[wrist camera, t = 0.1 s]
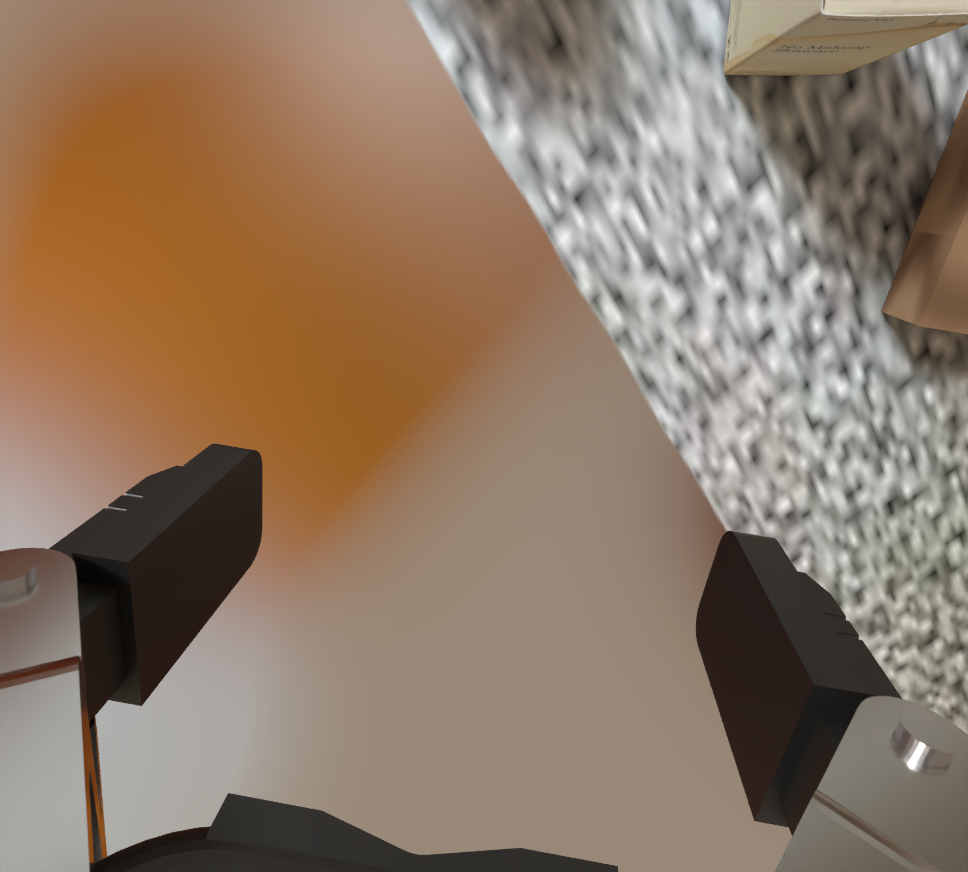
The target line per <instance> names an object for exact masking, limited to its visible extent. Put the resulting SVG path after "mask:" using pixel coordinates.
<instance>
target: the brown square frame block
mask: <svg viewBox="0 0 968 872" xmlns="http://www.w3.org/2000/svg"><path fill="white" fill-rule="evenodd" d="M881 312H883V313H886V314H888V315H891V316H894V317H896V318H899V319H901V320H904V321H907V322H909V323H912V324H914V325H917V326H921V327H927V328H933V329H939V330H945V331H951V332H957V333H963V334H968V91H967V93H966V96H965V98H964V101H963V104H962V106H961V109H960V111H959V114H958V116H957V119H956V121H955V124H954V127H953V129H952V132H951V134H950V137H949V139H948V142H947V145H946V147H945V150H944V152H943V155H942V157H941V160H940V162H939V165H938V168H937V170H936V173H935V175H934V178H933V180H932V183H931V186H930V188H929V191H928V193H927V196H926V198H925V201H924V204H923V206H922V209H921V211H920V214H919V216H918V219H917V221H916V224H915V227H914V229H913V232H912V234H911V237H910V239H909V242H908V245H907V247H906V250H905V252H904V255H903V257H902V260H901V262H900V265H899V268H898V270H897V273H896V275H895V278H894V280H893V283H892V286H891V288H890V291H889V293H888V296H887V298H886V301H885V303H884V306H883V309H882V311H881Z"/></svg>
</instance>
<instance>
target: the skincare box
mask: <svg viewBox="0 0 968 872" xmlns="http://www.w3.org/2000/svg"><path fill="white" fill-rule="evenodd" d="M967 24H968V0H732V1H731V9H730V16H729V24H728V32H727V40H726V50H725V60H724V74H726V75H838V74H843V73H845V72H848V71H851V70H853V69H856V68H859V67H861V66H864V65H866V64H869V63H872V62H874V61H877V60H879V59H882V58H884V57H887V56H889V55H892V54H894V53H897V52H899V51H902V50H904V49H907V48H909V47H912V46H914V45H917V44H919V43H922V42H924V41H927V40H929V39H932V38H934V37H937V36H940V35H942V34H945V33H947V32H949V31H952V30H954V29H957V28H959V27H962V26H964V25H967Z"/></svg>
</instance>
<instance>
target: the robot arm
mask: <svg viewBox="0 0 968 872" xmlns="http://www.w3.org/2000/svg"><path fill="white" fill-rule="evenodd" d="M261 536H262V459H261V455H260V453H259V452H258V451H256V450H250V449H244V448H238V447H232V446H226V445H220V444H211V445H210V446H208V447H207V448H206V449H204V450H203V451H202V452H200V453H199V454H198V455H197V456H195V457H194V458H193V459H191V460H190V461H189V462H188V463H186V464H185V465H184V466H174V467H172V468H169V469H166V470H164V471H161V472H158V473H156V474H153V475H150V476H148V477H146V478H145V479H144V480H142V481H141V482H139V483H138V484H137V485H135V486H134V487H132V488H131V489H130V490H128V491H127V492H126V495H125V496H123V495H122V496H120V497H119V498H117V499H116V500H115V501H113V502H112V503H111V504H109V507H108V509H105V508H104V509H102V510H101V511H100V512H98V513H97V514H96V515H94V516H93V517H92V518H90V519H89V520H87V521H86V522H85V523H83V524H82V525H81V526H79V527H78V528H77V529H75V530H74V531H72V532H71V533H70V534H68V535H67V536H66V537H64V538H63V539H61V540H60V541H59V542H57V543H56V544H55V545H53V546H52V547H51V548H49V549H44V548H20V549H11V550H6V551H0V872H618V867H617V866H613V865H608V864H603V863H598V862H592V861H587V860H581V859H576V858H571V857H565V856H560V855H555V854H550V853H544V852H538V851H534V850H528V849H523V848H514V849H500V850H487V851H474V852H460V853H447V854H433V855H417V854H412V853H409V852H407V851H404V850H402V849H400V848H398V847H396V846H394V845H392V844H390V843H388V842H386V841H384V840H382V839H380V838H377V837H375V836H373V835H371V834H369V833H367V832H365V831H363V830H361V829H359V828H357V827H355V826H352V825H350V824H348V823H346V822H344V821H342V820H340V819H338V818H336V817H334V816H332V815H330V814H328V813H325V812H323V811H321V810H315V809H310V808H305V807H299V806H294V805H289V804H283V803H278V802H273V801H267V800H262V799H257V798H251V797H246V796H241V795H235V794H230V793H228V795H227V797H226V798H225V800H224V803H223V804H222V806H221V808H220V810H219V812H218V814H217V816H216V818H215V819H214V821H213V823H212V825H211V827H199V828H193V829H188V830H183V831H177V832H172V833H169V834H165V835H162V836H158V837H155V838H152V839H148V840H145V841H143V842H140V843H138V844H135V845H133V846H130V847H128V848H125V849H123V850H120V851H118V852H116V853H114V854H112V855H110V856H108V857H107V850H106V849H107V848H106V837H105V825H104V812H103V799H102V787H101V775H100V763H99V762H100V761H99V750H98V737H97V726H96V719H95V715H96V714H97V713H98V712H99V710H100V709H101V708H102V707H103V706H104V704H105V703H106V702H107V701H108V700H112V701H117V702H123V703H128V704H134V705H140V706H142V705H143V704H144V702H145V701H146V700H147V699H148V697H149V696H150V695H151V693H152V692H153V691H154V689H155V688H156V687H157V686H158V684H159V683H160V682H161V680H162V679H163V678H164V677H165V675H166V674H167V673H168V671H169V670H170V669H171V667H172V666H173V665H174V664H175V663H176V661H177V660H178V659H179V657H180V656H181V655H182V653H183V652H184V651H185V650H186V648H187V647H188V646H189V644H190V643H191V642H192V641H193V639H194V638H195V637H196V635H197V634H198V633H199V632H200V630H201V629H202V628H203V626H204V625H205V624H206V623H207V621H208V620H209V619H210V617H211V616H212V615H213V614H214V612H215V611H216V610H217V608H218V607H219V606H220V605H221V603H222V602H223V601H224V599H225V598H226V597H227V596H228V594H229V593H230V592H231V590H232V589H233V588H234V587H235V585H236V584H237V583H238V581H239V580H240V579H241V578H242V576H243V575H244V574H245V572H246V571H247V570H248V569H249V567H250V566H251V564H252V563H253V561H254V559H255V557H256V555H257V552H258V549H259V546H260V542H261ZM858 637H859V635H858V633H857V632H856V631H855V629H854V628H853V626H852V625H851V623H850V622H849V621H846V616H845V614H844V613H843V611H842V610H841V609H840V607H839V606H838V604H837V603H836V601H835V600H834V598H833V597H832V595H831V594H830V593H829V592H827V591H826V590H825V589H824V588H823V587H821V586H820V585H819V584H818V583H817V582H815V581H814V580H813V579H812V578H810V577H809V576H808V575H807V574H806V573H803V572H797V570H796V569H795V567H794V566H793V564H792V563H791V561H790V559H789V558H788V556H787V555H786V553H785V552H784V550H783V548H782V547H781V545H780V544H779V542H778V541H777V540H776V539H775V538H770V537H764V536H758V535H752V534H746V533H740V532H734V531H727V532H726V533H725V534H724V535H723V537H722V538H721V540H720V543H719V545H718V548H717V552H716V555H715V558H714V561H713V564H712V567H711V570H710V573H709V576H708V579H707V582H706V585H705V589H704V591H703V595H702V598H701V601H700V604H699V608H698V612H697V618H696V638H697V644H698V647H699V650H700V653H701V656H702V659H703V663H704V665H705V669H706V672H707V675H708V678H709V681H710V684H711V687H712V690H713V694H714V697H715V700H716V703H717V706H718V709H719V712H720V715H721V718H722V722H723V725H724V728H725V731H726V734H727V737H728V740H729V743H730V746H731V750H732V753H733V756H734V759H735V762H736V765H737V768H738V771H739V775H740V778H741V780H742V784H743V787H744V790H745V793H746V796H747V799H748V803H749V806H750V808H751V811H752V815H753V818H754V821H758V822H763V823H769V824H774V825H779V826H785V827H789V829H790V831H791V834H792V838H791V840H790V842H789V844H788V846H787V848H786V850H785V852H784V854H783V856H782V858H781V860H780V862H779V864H778V866H777V868H776V870H775V872H968V735H967V734H966V733H965V732H964V731H962V730H961V729H960V728H958V727H957V726H956V725H954V724H953V723H951V722H950V721H948V720H947V719H946V718H944V717H942V716H940V715H939V714H937V713H935V712H933V711H931V710H929V709H927V708H925V707H923V706H921V705H918V704H916V703H913V702H910V701H907V700H904V699H902V698H901V696H900V695H899V693H898V692H897V690H896V689H895V688H894V686H893V685H892V683H891V682H890V680H889V679H888V677H887V676H886V674H885V673H884V671H883V670H882V669H881V667H880V666H879V664H878V663H877V661H876V660H875V658H874V657H873V655H872V654H871V652H870V651H869V650H868V648H867V647H866V645H865V644H864V642H863V641H862V640H859V639H858Z"/></svg>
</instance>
